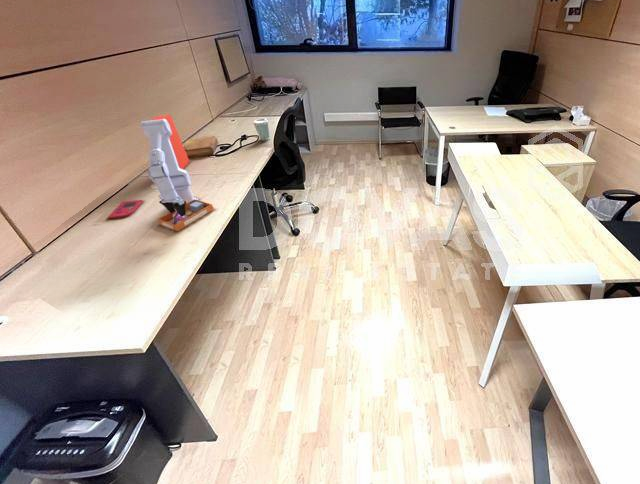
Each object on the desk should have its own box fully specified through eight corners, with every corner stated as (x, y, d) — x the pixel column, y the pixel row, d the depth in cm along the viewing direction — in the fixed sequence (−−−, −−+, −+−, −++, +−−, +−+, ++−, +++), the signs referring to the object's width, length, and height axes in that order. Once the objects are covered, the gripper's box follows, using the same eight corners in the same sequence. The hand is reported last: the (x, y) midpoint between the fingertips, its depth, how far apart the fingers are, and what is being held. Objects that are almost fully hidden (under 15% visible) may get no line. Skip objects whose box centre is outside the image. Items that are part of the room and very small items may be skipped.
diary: (214, 154, 224) (211, 146, 221) (184, 158, 219) (181, 150, 215) (218, 143, 242) (215, 135, 239) (190, 146, 237) (188, 139, 234)
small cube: (191, 211, 161) (188, 205, 159) (198, 207, 165) (196, 201, 162) (198, 213, 160) (195, 207, 158) (205, 209, 163) (202, 203, 161)
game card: (176, 204, 154) (172, 215, 147) (189, 206, 157) (185, 216, 150) (176, 216, 157) (171, 226, 150) (188, 217, 160) (184, 227, 153)
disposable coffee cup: (269, 141, 244) (264, 122, 236) (255, 141, 244) (250, 122, 236) (274, 136, 253) (269, 118, 245) (260, 136, 253) (255, 118, 245)
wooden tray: (159, 225, 152) (156, 219, 150) (197, 204, 167) (194, 199, 166) (177, 231, 148) (174, 225, 146) (214, 210, 163) (212, 204, 161)
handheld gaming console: (106, 216, 156) (122, 201, 169) (108, 219, 157) (123, 203, 169) (128, 214, 158) (142, 199, 170) (129, 216, 159) (143, 201, 171)
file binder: (166, 174, 198) (143, 124, 180) (176, 163, 212) (156, 115, 195) (180, 173, 199) (159, 123, 182) (189, 162, 213) (170, 114, 196)
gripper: (147, 190, 145) (160, 214, 152) (168, 196, 140) (180, 221, 147) (162, 183, 150) (174, 207, 157) (183, 189, 145) (194, 213, 152)
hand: (178, 213), depth 153 cm, fingers open, 7 cm apart
